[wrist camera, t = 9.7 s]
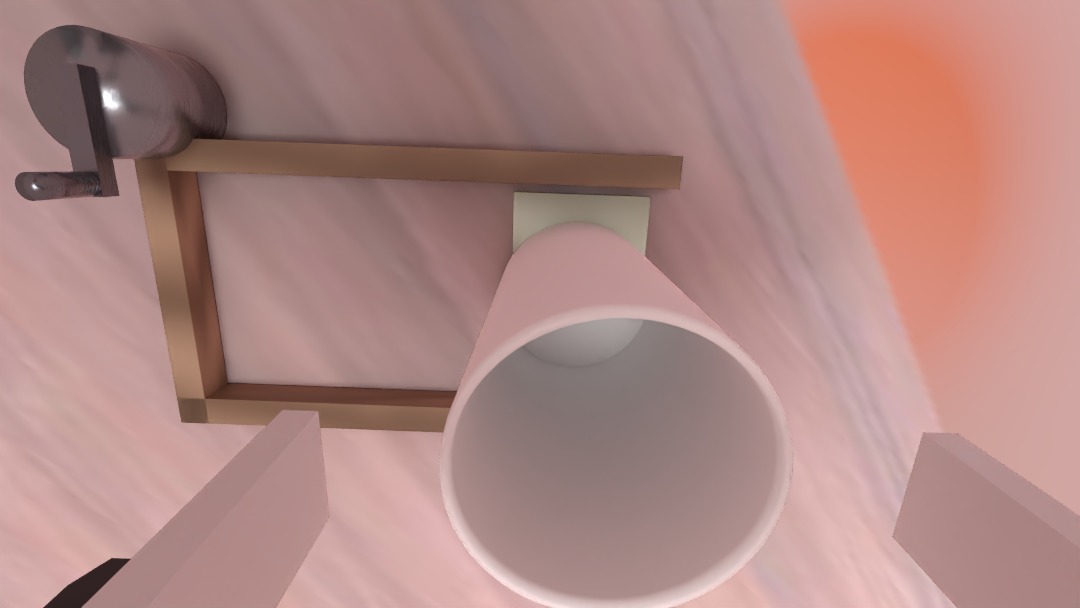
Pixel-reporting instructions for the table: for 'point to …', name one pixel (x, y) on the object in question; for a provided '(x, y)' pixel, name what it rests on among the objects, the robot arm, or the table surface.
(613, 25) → the table surface
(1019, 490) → the robot arm
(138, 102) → the winch drum
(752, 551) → the cup
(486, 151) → the frame
